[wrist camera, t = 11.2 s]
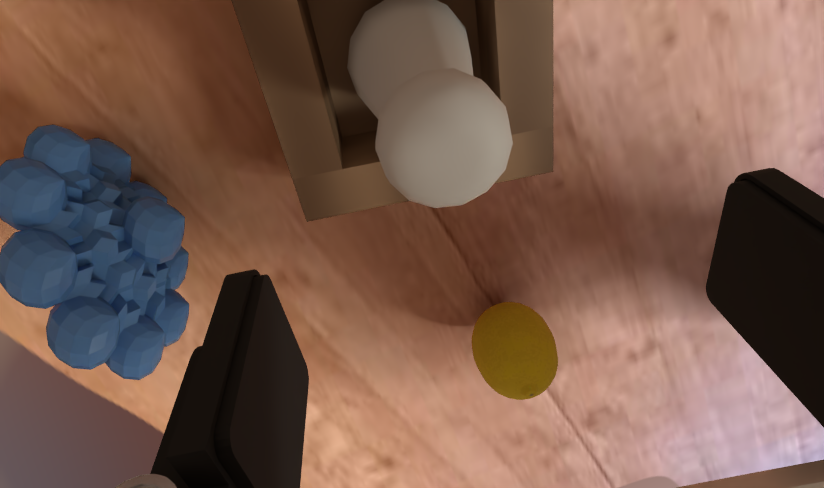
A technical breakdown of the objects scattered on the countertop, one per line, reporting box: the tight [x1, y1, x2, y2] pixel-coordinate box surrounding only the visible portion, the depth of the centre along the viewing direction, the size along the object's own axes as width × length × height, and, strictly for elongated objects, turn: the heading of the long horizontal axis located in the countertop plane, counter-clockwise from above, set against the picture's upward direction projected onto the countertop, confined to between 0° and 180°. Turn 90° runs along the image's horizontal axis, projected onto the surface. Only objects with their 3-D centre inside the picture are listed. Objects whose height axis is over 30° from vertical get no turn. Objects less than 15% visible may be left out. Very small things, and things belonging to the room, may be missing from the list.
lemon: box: [472, 302, 558, 400], centre depth 35 cm, size 6×6×8 cm
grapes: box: [0, 125, 189, 380], centre depth 24 cm, size 12×7×12 cm, turn 20°
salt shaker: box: [347, 0, 513, 208], centre depth 20 cm, size 6×6×13 cm
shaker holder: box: [232, 0, 553, 222], centre depth 24 cm, size 13×13×5 cm
